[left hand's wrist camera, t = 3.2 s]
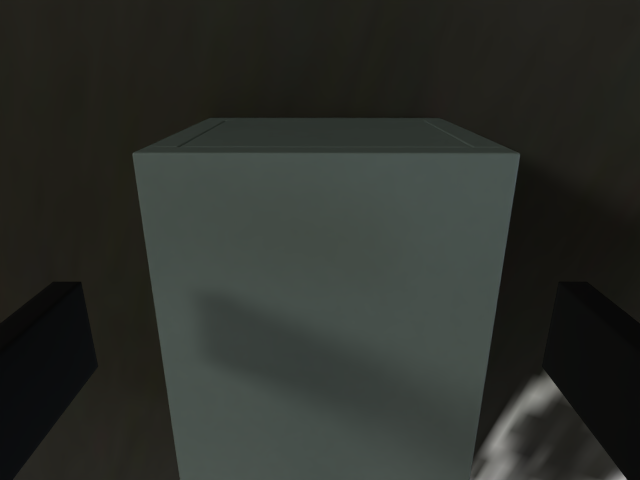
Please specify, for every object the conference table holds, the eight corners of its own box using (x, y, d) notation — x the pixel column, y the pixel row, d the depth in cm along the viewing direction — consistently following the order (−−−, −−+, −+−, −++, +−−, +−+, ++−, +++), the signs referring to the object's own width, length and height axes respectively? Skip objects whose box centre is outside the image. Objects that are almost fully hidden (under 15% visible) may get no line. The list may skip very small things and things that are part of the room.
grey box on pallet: (414, 402, 29) (457, 559, 20) (232, 401, 29) (190, 557, 20) (440, 117, 22) (521, 153, 13) (208, 117, 23) (131, 152, 13)
